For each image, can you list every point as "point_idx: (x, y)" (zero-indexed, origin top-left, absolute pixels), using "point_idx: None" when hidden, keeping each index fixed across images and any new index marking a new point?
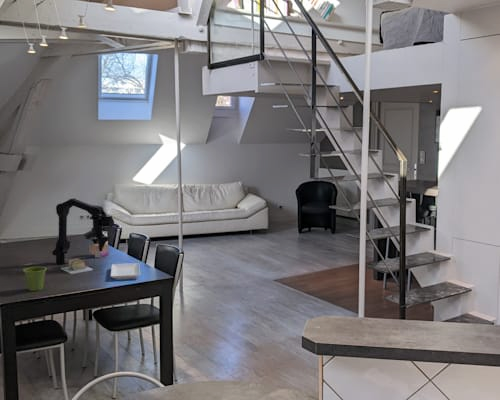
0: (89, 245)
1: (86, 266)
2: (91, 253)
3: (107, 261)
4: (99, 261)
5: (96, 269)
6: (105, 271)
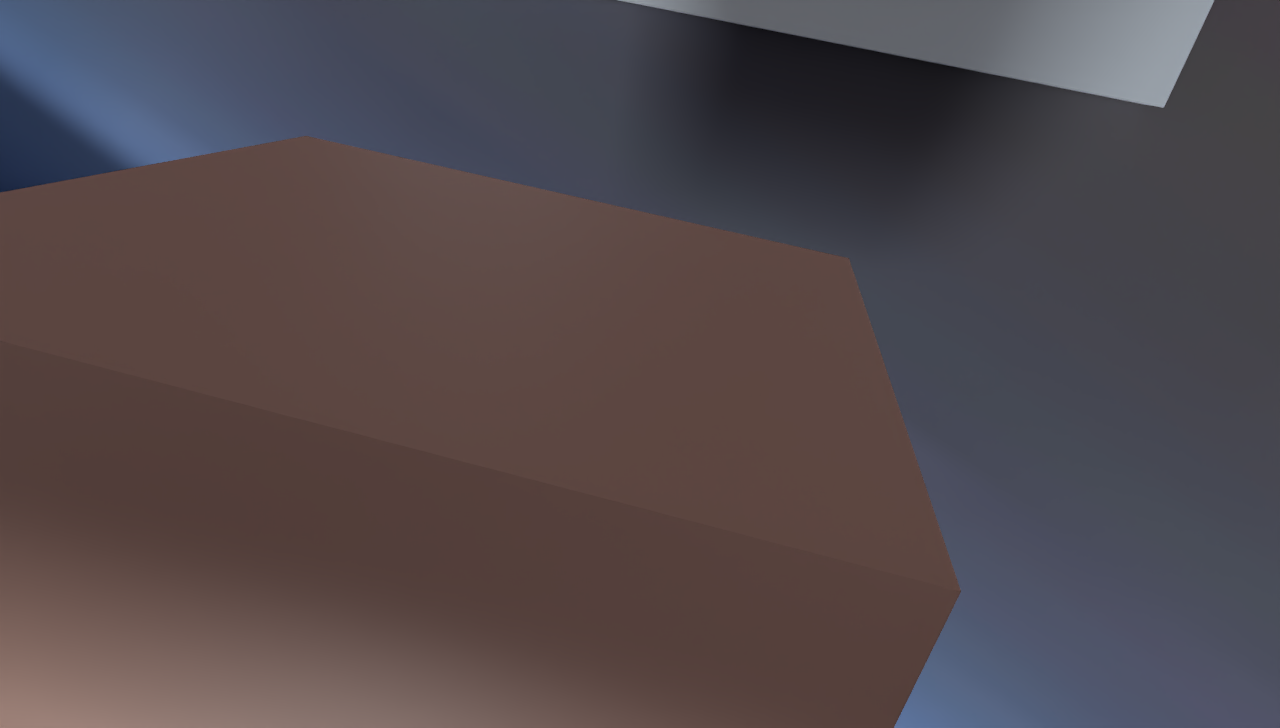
0: (746, 503)
1: (808, 16)
2: (509, 183)
3: (911, 711)
4: (1086, 643)
5: (425, 94)
6: (113, 118)
